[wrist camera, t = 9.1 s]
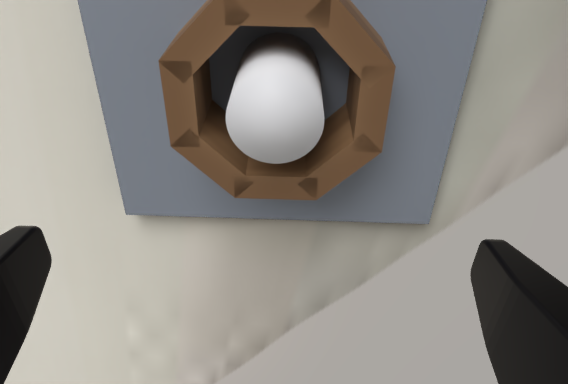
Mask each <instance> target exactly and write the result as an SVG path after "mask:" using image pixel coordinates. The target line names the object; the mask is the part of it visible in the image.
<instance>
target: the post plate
mask: <svg viewBox="0 0 568 384" xmlns="http://www.w3.org/2000/svg"><path fill="white" fill-rule="evenodd" d="M206 1H207V0H78V4H79V9H80V13H81V18H82V22H83V26H84V31H85V35H86V40H87V44H88V49H89V53H90V57H91V62H92V66H93V71H94V75H95V80H96V84H97V89H98V93H99V97H100V102H101V106H102V111H103V115H104V120H105V124H106V128H107V133H108V137H109V142H110V146H111V151H112V155H113V159H114V164H115V168H116V173H117V177H118V182H119V186H120V191H121V195H122V199H123V204H124V208H125V213H126V215H156V216H188V217H220V218H253V219H285V220H317V221H350V222H382V223H414V224H429V221H430V218H431V214H432V210H433V206H434V202H435V198H436V195H437V191H438V187H439V183H440V179H441V175H442V171H443V168H444V164H445V160H446V156H447V152H448V148H449V145H450V141H451V137H452V133H453V129H454V125H455V122H456V118H457V114H458V110H459V106H460V102H461V98H462V95H463V91H464V87H465V83H466V79H467V75H468V72H469V68H470V64H471V60H472V56H473V52H474V49H475V45H476V41H477V37H478V33H479V29H480V25H481V22H482V18H483V14H484V10H485V6H486V2H487V0H351V1H352V3H353V4H354V5H355V6H356V7H357V9H358V10H359V11H360V12H361V13H362V15H363V16H364V17H365V18H366V19H367V21H368V22H369V23H370V24H371V25H372V27H373V28H374V29H375V30H376V31H377V33H378V34H379V35H380V36H381V37H382V40H383V42H384V44H385V46H386V48H387V50H388V52H389V54H390V56H391V58H392V60H393V62H394V64H395V66H396V68H395V74H394V80H393V86H392V92H391V99H390V105H389V111H388V117H387V123H386V129H385V136H384V142H383V148H382V152H381V153H380V154H379V155H377V156H376V157H375V158H373V159H372V160H371V161H369V162H368V163H366V164H365V165H364V166H362V167H361V168H360V169H358V170H357V171H356V172H354V173H353V174H351V175H350V176H349V177H347V178H346V179H345V180H343V181H342V182H341V183H339V184H338V185H336V186H335V187H334V188H332V189H331V190H330V191H328V192H327V193H326V194H324V195H323V196H321V197H320V198H319V199H317V200H284V199H249V198H234V197H233V196H232V195H230V194H229V193H228V192H227V191H225V190H224V189H223V188H222V187H221V186H219V185H218V184H217V183H216V182H214V181H213V180H212V179H211V178H209V177H208V176H207V175H206V174H204V173H203V172H202V171H201V170H199V169H198V168H197V167H196V166H194V165H193V164H192V163H191V162H189V161H188V160H187V159H186V158H184V157H183V156H182V155H181V154H179V153H178V152H177V151H176V150H174V149H173V148H172V147H171V146H170V139H169V132H168V125H167V118H166V111H165V104H164V97H163V90H162V83H161V76H160V69H159V62H158V60H159V59H160V58H161V56H162V55H163V53H164V52H165V51H166V49H167V48H168V46H169V45H170V43H171V42H172V41H173V39H174V38H175V36H176V35H177V34H178V32H179V31H180V30H181V29H182V28H183V27H184V26H185V24H186V23H187V22H188V21H189V20H190V19H191V18H192V17H193V16H194V14H195V13H196V12H197V11H198V10H199V9H200V8H201V7H202V5H203V4H204V3H205V2H206ZM209 65H210V78H211V91H212V100H213V101H214V102H216V103H217V104H218V105H219V106H220V107H221V108H222V109H223V110H225V111H226V126H227V130H228V133H229V135H230V137H231V139H232V141H233V142H234V144H235V145H236V146H237V147H238V148H239V149H240V150H241V151H242V152H243V153H245V154H246V155H248V156H249V157H251V158H253V159H255V160H258V161H261V162H265V163H272V164H281V163H287V162H291V161H294V160H297V159H299V158H301V157H303V156H304V155H306V154H307V153H309V152H310V151H311V150H312V149H313V148H314V147H315V145H316V144H317V143H318V141H319V139H320V137H321V135H322V132H323V129H324V121H325V120H326V119H327V118H328V117H330V116H331V115H332V114H333V113H334V112H336V111H337V110H338V109H339V108H341V107H342V106H343V105H344V104H345V103H346V98H347V88H348V78H349V69H350V67H349V65H348V64H347V63H346V62H345V61H344V60H343V59H342V58H341V57H340V55H339V54H338V53H337V52H336V51H335V50H334V49H333V48H332V47H331V45H330V44H329V43H328V42H327V41H326V40H325V39H324V38H323V37H322V35H321V34H320V33H319V32H318V31H317V30H316V29H315V28H314V27H275V26H239V27H238V28H237V29H236V30H235V31H234V32H233V33H232V34H231V35H230V36H229V37H228V39H227V40H226V41H225V42H224V43H223V44H222V45H221V46H220V47H219V48H218V49H217V50H216V51H215V52H214V53H213V54H212V55H211V56H210V57H209Z"/></svg>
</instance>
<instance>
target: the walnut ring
mask: <svg viewBox="0 0 568 384" xmlns="http://www.w3.org/2000/svg"><path fill="white" fill-rule="evenodd" d="M239 26H275V27H314V28H315V29H316V30H317V31H318V32H319V33H320V34H321V35H322V37H323V38H324V39H325V40H326V41H327V42H328V43H329V44H330V45H331V47H332V48H333V49H334V50H335V51H336V52H337V53H338V54H339V55H340V57H341V58H342V59H343V60H344V61H345V62H346V63H347V64H348V65H349V67H350V69H349V78H348V88H347V98H346V103H345V104H344V105H343V106H342V107H341V108H339V109H338V110H337V111H336V112H334V113H333V114H332V115H331V116H330V117H328V118H327V119H326V120H325V121H324V129H323V132H322V135H321V137H320V139H319V141H318V143H317V144H316V145H315V147H314V148H313V149H312V150H311V151H310V152H309V153H307V154H306V155H304V156H303V157H301V158H299V159H297V160H294V161H291V162H287V163H281V164H272V163H265V162H261V161H258V160H255V159H253V158H251V157H249V156H248V155H246V154H245V153H243V152H242V151H241V150H240V149H239V148H238V147H237V146H236V145H235V144H234V142H233V141H232V139H231V137H230V135H229V133H228V130H227V126H226V111H225V110H223V109H222V108H221V107H220V106H219V105H218V104H217V103H216V102H214V101H213V100H212V91H211V78H210V65H209V57H210V56H211V55H212V54H213V53H214V52H215V51H216V50H217V49H218V48H219V47H220V46H221V45H222V44H223V43H224V42H225V41H226V40H227V39H228V37H229V36H230V35H231V34H232V33H233V32H234V31H235V30H236V29H237V28H238V27H239ZM158 62H159V69H160V76H161V83H162V90H163V97H164V104H165V111H166V118H167V125H168V132H169V139H170V146H171V147H172V148H173V149H174V150H176V151H177V152H178V153H179V154H181V155H182V156H183V157H184V158H186V159H187V160H188V161H189V162H191V163H192V164H193V165H194V166H196V167H197V168H198V169H199V170H201V171H202V172H203V173H204V174H206V175H207V176H208V177H209V178H211V179H212V180H213V181H214V182H216V183H217V184H218V185H219V186H221V187H222V188H223V189H224V190H225V191H227V192H228V193H229V194H230V195H232V196H233V197H234V198H249V199H284V200H317V199H319V198H320V197H321V196H323V195H324V194H326V193H327V192H328V191H330V190H331V189H332V188H334V187H335V186H336V185H338V184H339V183H341V182H342V181H343V180H345V179H346V178H347V177H349V176H350V175H351V174H353V173H354V172H356V171H357V170H358V169H360V168H361V167H362V166H364V165H365V164H366V163H368V162H369V161H371V160H372V159H373V158H375V157H376V156H377V155H379V154H380V153H381V152H382V148H383V142H384V136H385V129H386V123H387V117H388V111H389V105H390V99H391V92H392V86H393V80H394V74H395V68H396V66H395V64H394V62H393V60H392V58H391V56H390V54H389V52H388V50H387V48H386V46H385V44H384V42H383V40H382V37H381V36H380V35H379V34H378V33H377V31H376V30H375V29H374V28H373V27H372V25H371V24H370V23H369V22H368V21H367V19H366V18H365V17H364V16H363V15H362V13H361V12H360V11H359V10H358V9H357V7H356V6H355V5H354V4H353V3H352V1H351V0H207V1H206V2H205V3H204V4H203V5H202V7H201V8H200V9H199V10H198V11H197V12H196V13H195V14H194V16H193V17H192V18H191V19H190V20H189V21H188V22H187V23H186V24H185V26H184V27H183V28H182V29H181V30H180V31H179V32H178V34H177V35H176V36H175V38H174V39H173V41H172V42H171V43H170V45H169V46H168V48H167V49H166V51H165V52H164V53H163V55H162V56H161V58H160V59H159V60H158Z"/></svg>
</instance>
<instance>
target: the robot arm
mask: <svg viewBox="0 0 568 384" xmlns="http://www.w3.org/2000/svg"><path fill="white" fill-rule="evenodd" d="M50 267H51V254H50V251H49V249H48V246H47V243H46V241H45V238H44V235H43V232H42V230H41V229H40V228H39V227H36V226H16V227H14V228H12V229H11V230H9V231H7V232H5V233H4V234H2V235H0V384H4V382H5V380H6V378H7V376H8V374H9V371H10V369H11V367H12V365H13V363H14V361H15V359H16V357H17V355H18V353H19V350H20V348H21V346H22V344H23V342H24V340H25V337H26V335H27V333H28V330H29V328H30V325H31V323H32V320H33V317H34V314H35V311H36V308H37V305H38V302H39V300H40V297H41V294H42V291H43V288H44V285H45V282H46V279H47V276H48V273H49V271H50ZM471 282H472V286H473V291H474V296H475V300H476V305H477V309H478V314H479V318H480V323H481V328H482V331H483V336H484V340H485V344H486V348H487V351H488V354H489V358H490V361H491V363H492V366H493V369H494V372H495V375H496V378H497V381H498V383H499V384H568V287H567V286H566V285H564V284H563V283H562V282H560V281H559V280H558V279H556V278H555V277H554V276H552V275H551V274H549V273H548V272H547V271H545V270H544V269H543V268H541V267H540V266H539V265H537V264H536V263H535V262H533V261H532V260H530V259H529V258H527V257H526V256H525V255H523V254H522V253H521V252H520V251H518V250H517V249H515V248H514V247H513V246H511V245H510V244H509V243H507V242H506V241H504V240H493V239H491V240H490V239H486V240H483V241H482V242H481V243H480V245H479V248H478V250H477V253H476V256H475V259H474V262H473V265H472V268H471Z"/></svg>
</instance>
